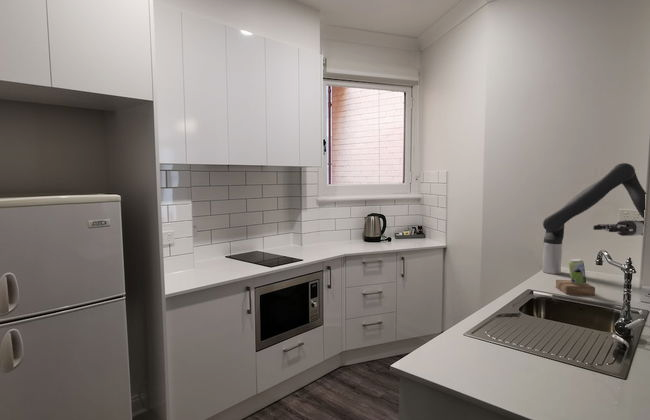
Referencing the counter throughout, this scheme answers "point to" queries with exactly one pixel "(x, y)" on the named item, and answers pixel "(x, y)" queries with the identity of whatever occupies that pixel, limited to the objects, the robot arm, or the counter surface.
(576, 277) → the beverage can
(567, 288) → the walnut base
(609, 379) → the counter surface
